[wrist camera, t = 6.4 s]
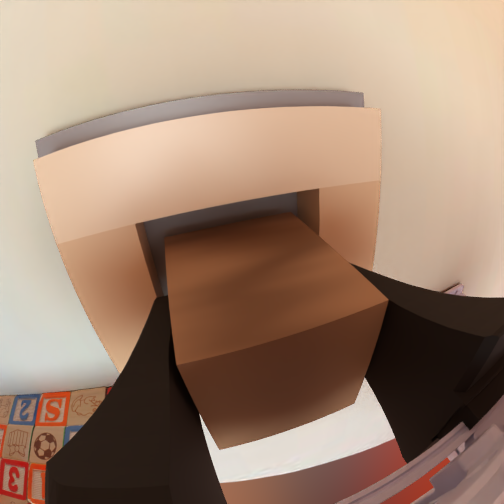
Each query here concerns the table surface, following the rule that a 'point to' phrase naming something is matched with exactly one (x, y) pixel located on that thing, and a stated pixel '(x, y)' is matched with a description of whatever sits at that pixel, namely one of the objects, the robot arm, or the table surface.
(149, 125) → the puzzle board
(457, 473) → the robot arm
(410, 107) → the table surface
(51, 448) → the stack of blocks
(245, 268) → the walnut block
